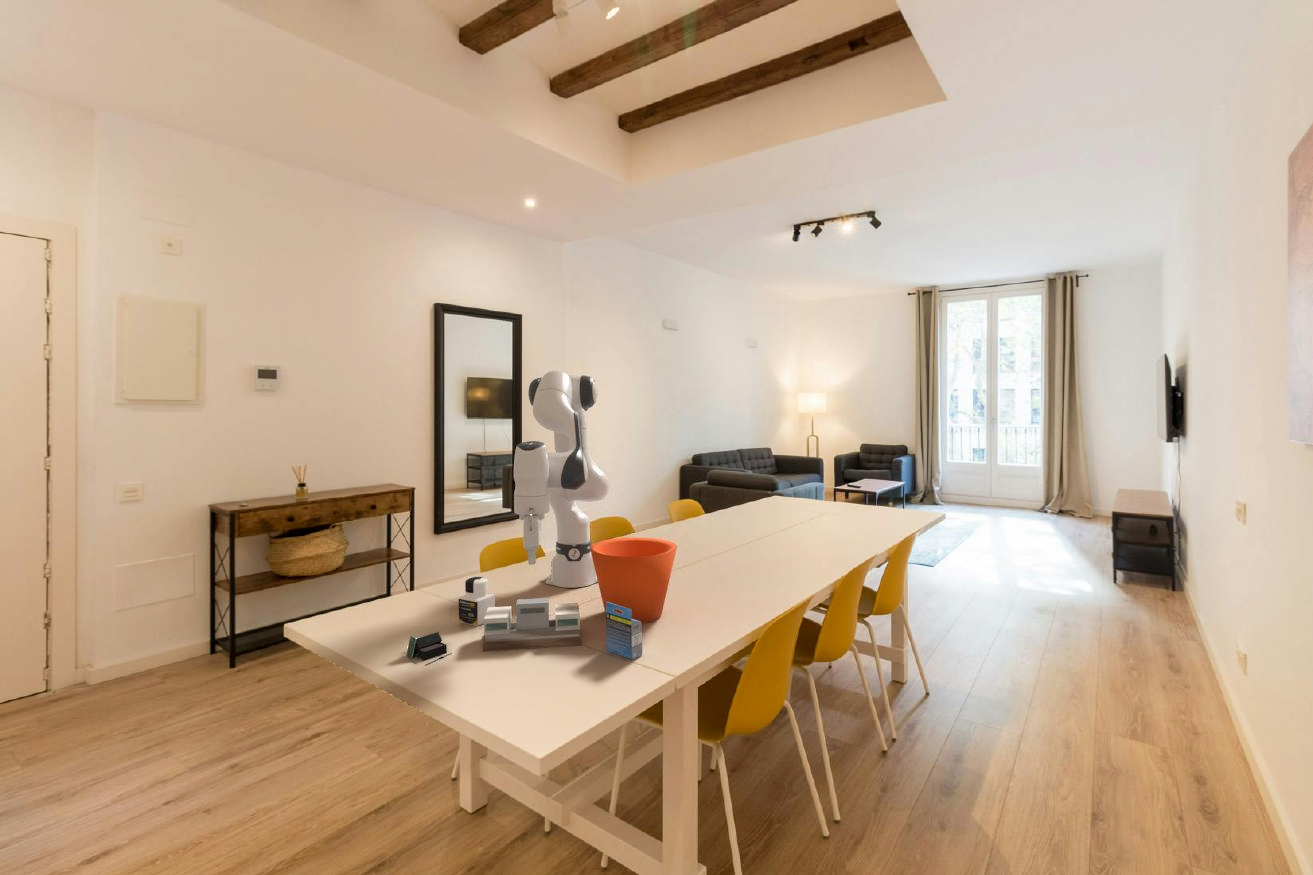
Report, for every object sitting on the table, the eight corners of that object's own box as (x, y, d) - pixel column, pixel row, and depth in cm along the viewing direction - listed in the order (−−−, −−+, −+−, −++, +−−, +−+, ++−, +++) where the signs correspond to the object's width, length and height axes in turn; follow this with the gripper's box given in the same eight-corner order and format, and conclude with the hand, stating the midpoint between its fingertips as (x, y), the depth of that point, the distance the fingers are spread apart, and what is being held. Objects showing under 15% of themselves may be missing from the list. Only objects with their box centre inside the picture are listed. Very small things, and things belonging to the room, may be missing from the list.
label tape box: (643, 655, 149) (642, 605, 148) (631, 660, 145) (631, 609, 145) (616, 646, 154) (616, 597, 154) (605, 651, 151) (604, 601, 151)
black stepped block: (440, 639, 160) (440, 618, 160) (474, 654, 151) (474, 631, 151) (384, 657, 149) (384, 635, 149) (417, 674, 139) (416, 650, 139)
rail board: (487, 633, 163) (487, 605, 163) (579, 628, 167) (579, 600, 167) (482, 651, 151) (482, 621, 151) (581, 644, 155) (581, 615, 155)
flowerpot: (668, 632, 164) (668, 558, 163) (578, 626, 169) (577, 554, 168) (683, 603, 188) (683, 539, 187) (604, 598, 193) (604, 535, 192)
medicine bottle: (458, 622, 172) (457, 579, 171) (476, 614, 178) (476, 573, 177) (477, 626, 168) (476, 583, 168) (495, 618, 175) (495, 576, 174)
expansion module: (517, 629, 160) (517, 599, 159) (548, 628, 161) (548, 597, 161) (516, 635, 156) (516, 604, 155) (548, 634, 157) (548, 602, 157)
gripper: (543, 512, 148) (544, 569, 149) (545, 499, 168) (545, 549, 169) (516, 513, 147) (517, 570, 147) (521, 499, 167) (522, 550, 168)
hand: (532, 559), depth 158 cm, fingers open, 8 cm apart
